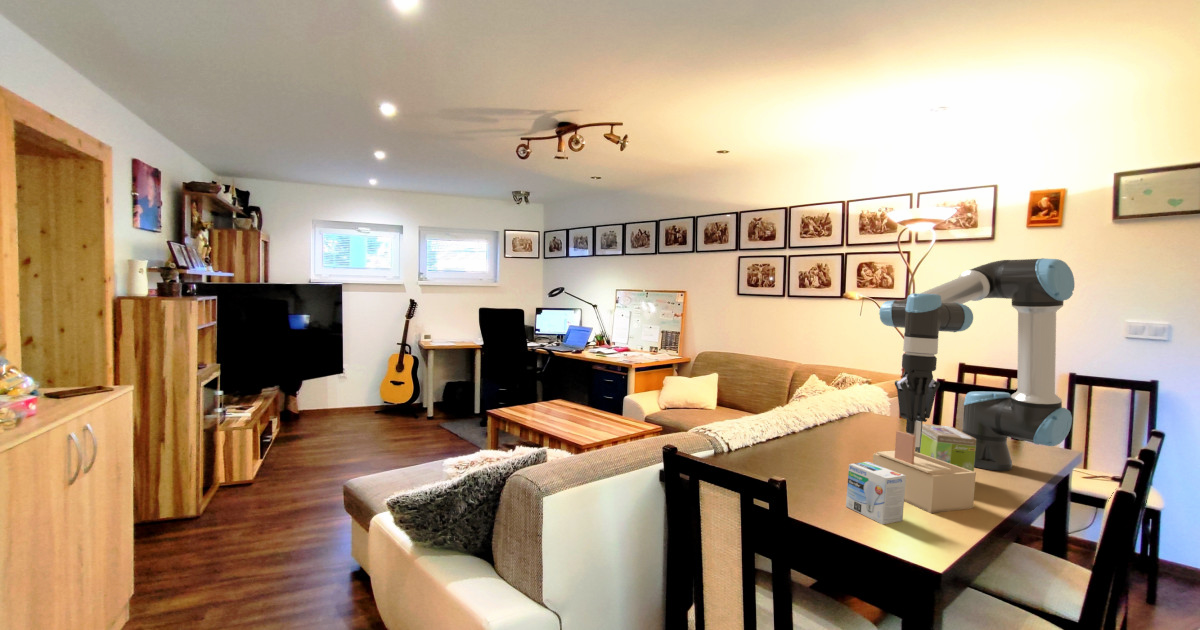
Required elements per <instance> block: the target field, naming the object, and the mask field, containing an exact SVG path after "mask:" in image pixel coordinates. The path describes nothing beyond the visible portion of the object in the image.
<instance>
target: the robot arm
mask: <svg viewBox="0 0 1200 630" xmlns="http://www.w3.org/2000/svg"><path fill="white" fill-rule="evenodd" d="M1074 291H1075V277H1074V273H1073V272H1072V269H1071V267H1070V266H1069V265H1068V264H1067V263H1066V262H1065V261H1063V260H1062V259H1057V258H1043V257H1042V258H1029V259H1027V258H1026V259H1024V258H1023V259H1001V260H996V261H992V262H988V263H986V264H981V265H979V266H977V267H974V268H971V269H968V270H966V271H963V272H962V273H961V274H959V275H958V277H957V278H954V279H952V280H950V281H948V282H945V283H943V284H940V285H937V286H935V287H933V288H929V289H928V290H925V291H923V292H920V293H917V292H916V293H911V294H909V295H907V298H904V299H902V300H901V299H900V300H895V299H893V300H885V302H883V303H882V304H881V306H880V308H879V313H878V315H879V319H880V322H881V323H882V324H883V325H885V326H888V327H894V328H901V329H902V328H904V333H903V334H904V337H903V349H902V351H903V352H905V353H903V354H902V359H901V360H902V361H901V367H902V368H903V369H904V370H903V371H904V372H903V374H902V378H901V379H900V380H895V381H894V386H895V388H896V393H897V400H898V409H899V417H901V418H902V419H903V420H904V419H905V420H906V424H905V426H906V427H905V433H907V434H910V435H913V436H916V439H915V447H920V435H921V432H922V424H923V422H924V423H926V422H928V419H930V417H931V414H932V410H933V406H934V402H935V399H936V398H935V397H936V394H937V391H938V389H939V387H940V385H941V382H939V381H938V380H937V381H936V380H935V379H934V374H933V372H935V371H936V370H937V359H938V358H937V356H935V355H937V354H939V353H938V351H939V349H938V348H939V333H940V332H949V333H957V332H963V331H966V330H968V329H969V328H970V327H971V325H972V324H973V321H974V313H973V311H972V309H971V308H970V307H969V306H968V305H966V304H965V303H969V302H970V301H972V302H977V301H978V302H979V301H981V300H984V299H1006V300H1007V299H1009V300H1010V299H1011V307H1013V309H1015V310H1016V311H1017V379H1016V380H1017V383H1016V384H1017V387H1016V388H1017V390H1016V392H1015V391H1014V393H1012V394H1011V393H1009V392H1005V391H984V390H983V391H976V390H975V391H969V392H967V393H966V395H965V397H964V403H963V415H962V416H963V417H962V418H963V419H962V432H963V433H965V434H967V435H969V436H971V437H973V438H975V439H976V451H975V462H974V468H979V469H984V470H989V471H1005V472H1006V471H1011V470H1012V469H1013V468H1012V467H1013V460H1012V457H1011V453H1010V450H1009V448H1008V443H1007V442H1008V441H1007V440H1008V438H1013V439H1017V440H1020V441H1025V442H1029V443H1032V444H1035V445H1041V446H1045V447H1055V446H1058V445H1060V444H1061V443H1062V442H1064V441H1065V440H1066V438H1067V436H1068V435H1069V432H1070V430H1071V428H1072V424H1073V423H1072V422H1073V416H1072V413H1071V410H1069V409H1068V408H1067V407H1063V406H1062V403H1063V399H1062V398H1061V397H1060V396H1058V395H1057V393H1056V355H1057V354H1056V349H1057V347H1056V346H1057V345H1056V344H1057V343H1056V342H1057V339H1056V338H1057V312H1058V311H1060V309H1061V308H1063V307H1064V302H1065V301H1067V300H1069V299H1070V298H1071V297H1072V296H1073V292H1074Z"/></svg>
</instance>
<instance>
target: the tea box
mask: <svg viewBox="0 0 1200 630" xmlns="http://www.w3.org/2000/svg"><path fill="white" fill-rule="evenodd" d="M975 451H976V439H975V438H973V437H971V436H969V435H967V434H965V433H963V432H962V431H961V430H960V429H957V428H955V427H954V426H949V425H946V426H945V425H937V424H927V423H922V432H921V435H920V447H915V452H918V453H921V454H924V455H927V456H929V457H932V458H935V459H938V460H941V461H944V462H947V463H950V464H953V465H956V466H959V467H962V468H965V469H967V470H970V471H973V472H975V467H974V462H975Z"/></svg>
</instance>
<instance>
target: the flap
mask: <svg viewBox="0 0 1200 630" xmlns="http://www.w3.org/2000/svg"><path fill="white" fill-rule="evenodd" d="M895 432H896V434H895V445H894V447H895V448H894V450H887V451H886V450H883V451H876V453H877V454H879V455H881V456H884V457H887V458H889V459H892V460H895V461H897V462H900V463H903V464H905V465H908V466H911V467H913V468H916V469H919V470H921V471H924V472H927V473H935V472H946V471H951V469H950V468H947V467H944V466H941V465H938V464H935V463H933V462H930V461H927V460H924V459H921V458H918V457H916V456H914V452H915V439H916V436H913V435H910V434H907V432H904V431H900V430H897V431H895Z"/></svg>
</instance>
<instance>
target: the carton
mask: <svg viewBox="0 0 1200 630" xmlns="http://www.w3.org/2000/svg"><path fill="white" fill-rule="evenodd" d="M914 456H916V457H918V458H921V459H924V460H927V461H930V462H933V463H935V464H938V465H941V466H944V467H947V468H950V469H951V471H946V472H935V473H927V472H924V471H921V470H919V469H916V468H913V467H911V466H908V465H905V464H903V463H900V462H897V461H895V460H892V459H889V458H887V457H884V456H881V455H879V454H877V452H876V453H875V452H874V453H873V454H872V463H873V464H875V465H878V466H881V467H884V468H886V469H889V470H892V471H895V472H897V473H900V474H903V475H906V483H905V495H904V503H908V504H910V505H911V506H914V507H916V508H919V509H921V510H923V511H925V512H928V513H930V514H933V513H943V512H950V511H951V512H953V511H960V510H968V509H969V510H970V509H974V502H975V501H974V500H975V489H976V487H975V485H976V475H977V472H976V471H974V472H973V471H970V470H967V469H965V468H962V467H959V466H956V465H953V464H950V463H947V462H944V461H941V460H938V459H935V458H932V457H929V456H927V455H924V454H921V453H918V452H914Z"/></svg>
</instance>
